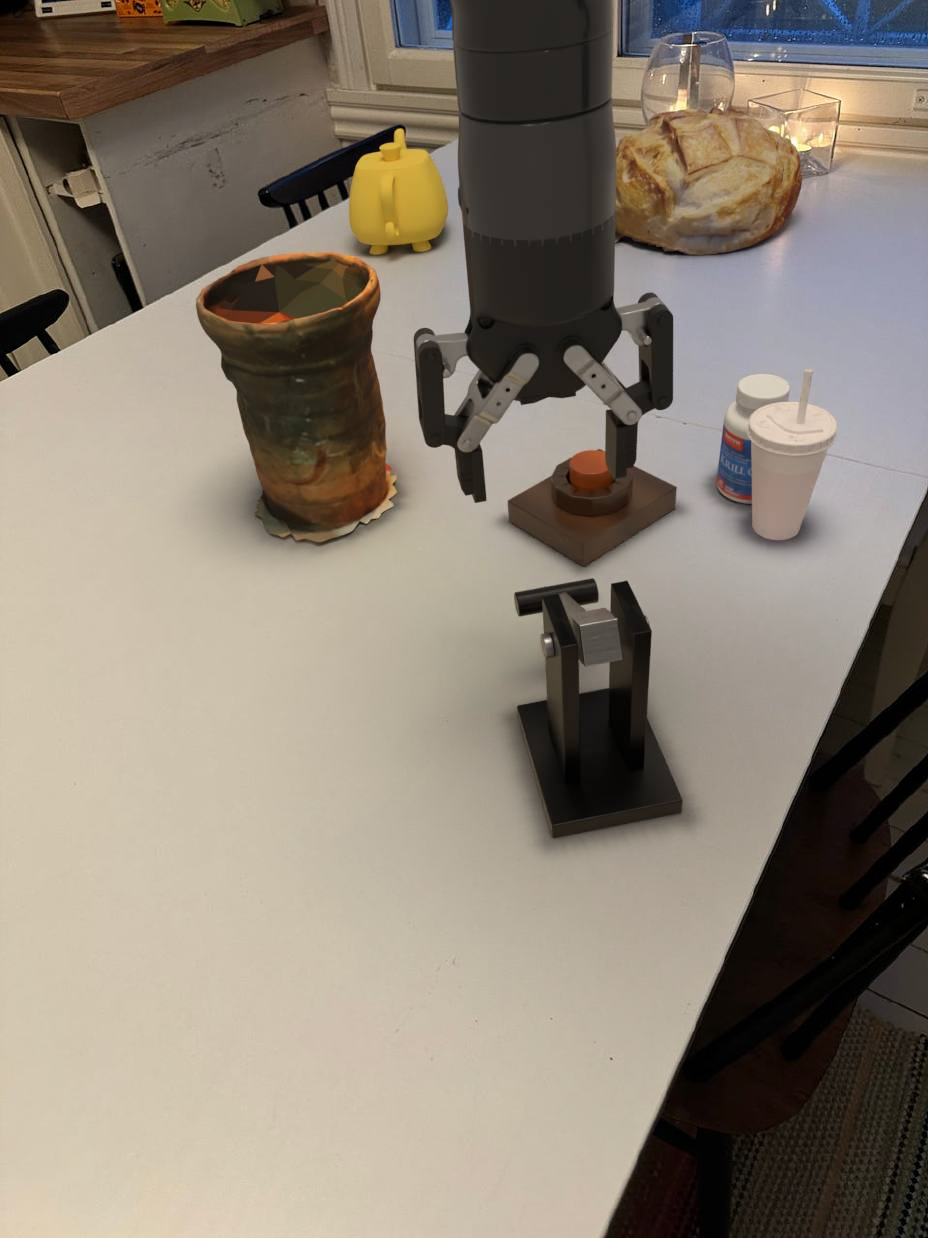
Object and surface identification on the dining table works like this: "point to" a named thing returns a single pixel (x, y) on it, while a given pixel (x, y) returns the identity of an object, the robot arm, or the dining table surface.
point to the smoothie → (787, 461)
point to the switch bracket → (597, 729)
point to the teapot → (397, 198)
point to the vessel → (305, 387)
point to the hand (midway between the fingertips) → (547, 483)
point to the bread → (704, 181)
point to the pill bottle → (744, 433)
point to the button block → (590, 511)
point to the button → (590, 470)
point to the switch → (579, 619)
